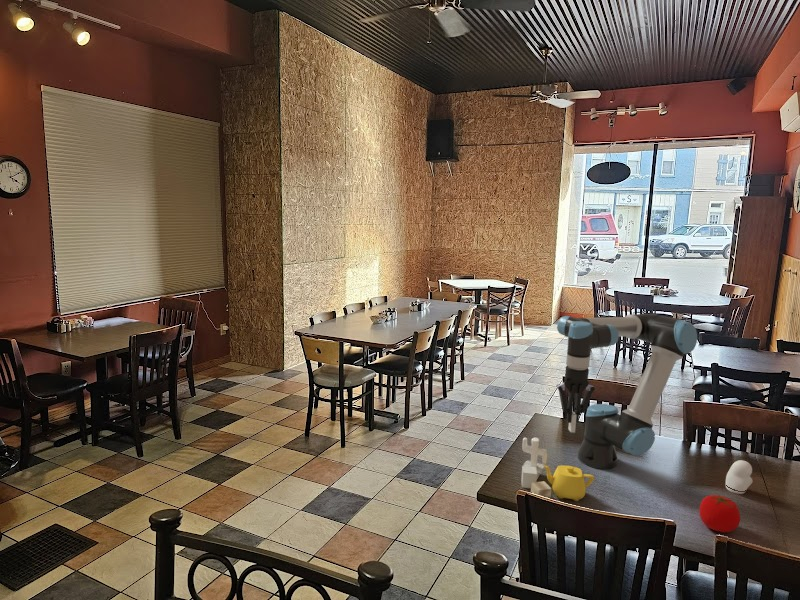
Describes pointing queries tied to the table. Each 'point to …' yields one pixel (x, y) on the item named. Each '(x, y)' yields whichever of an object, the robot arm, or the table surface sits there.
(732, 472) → the white mitten
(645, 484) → the table surface
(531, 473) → the white block
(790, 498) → the table surface
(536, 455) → the figurine
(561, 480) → the teapot
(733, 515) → the tomato
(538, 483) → the beech block
